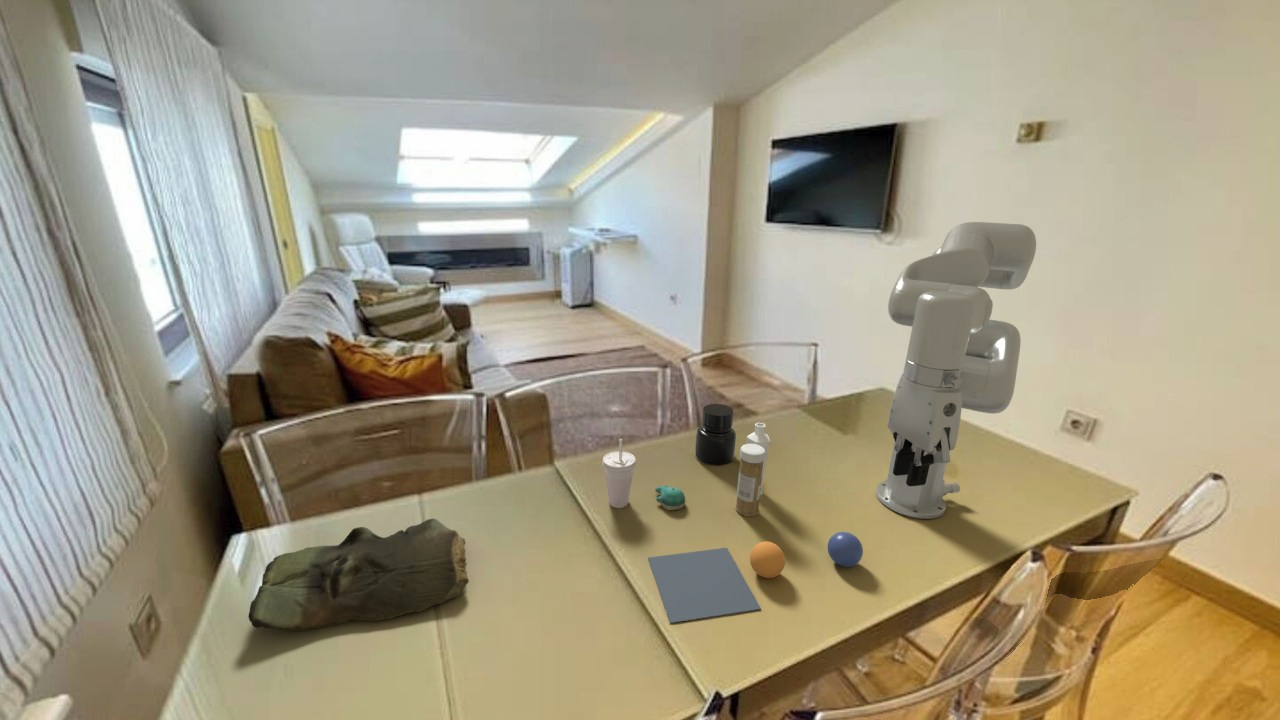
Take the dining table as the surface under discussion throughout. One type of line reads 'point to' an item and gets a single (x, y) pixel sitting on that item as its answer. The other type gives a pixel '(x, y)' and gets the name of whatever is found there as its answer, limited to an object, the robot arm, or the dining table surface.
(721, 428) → the ink bottle
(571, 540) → the dining table surface
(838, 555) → the blue ball
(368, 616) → the stone head
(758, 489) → the sprinkles bottle
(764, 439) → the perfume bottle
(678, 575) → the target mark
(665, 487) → the whale figurine
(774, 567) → the orange ball
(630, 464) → the smoothie
